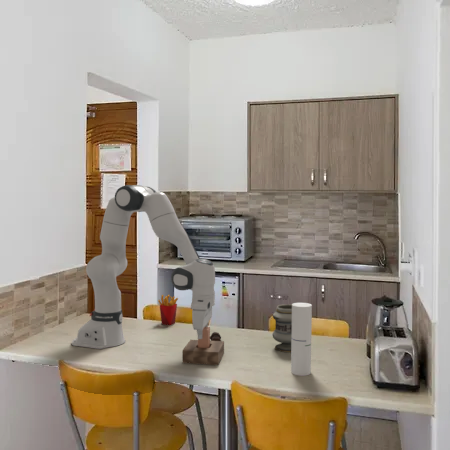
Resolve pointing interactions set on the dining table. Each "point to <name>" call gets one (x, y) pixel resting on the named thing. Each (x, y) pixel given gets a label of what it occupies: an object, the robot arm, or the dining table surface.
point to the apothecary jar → (283, 327)
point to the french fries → (168, 310)
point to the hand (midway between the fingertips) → (202, 335)
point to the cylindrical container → (301, 339)
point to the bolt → (215, 336)
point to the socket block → (203, 353)
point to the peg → (205, 338)
